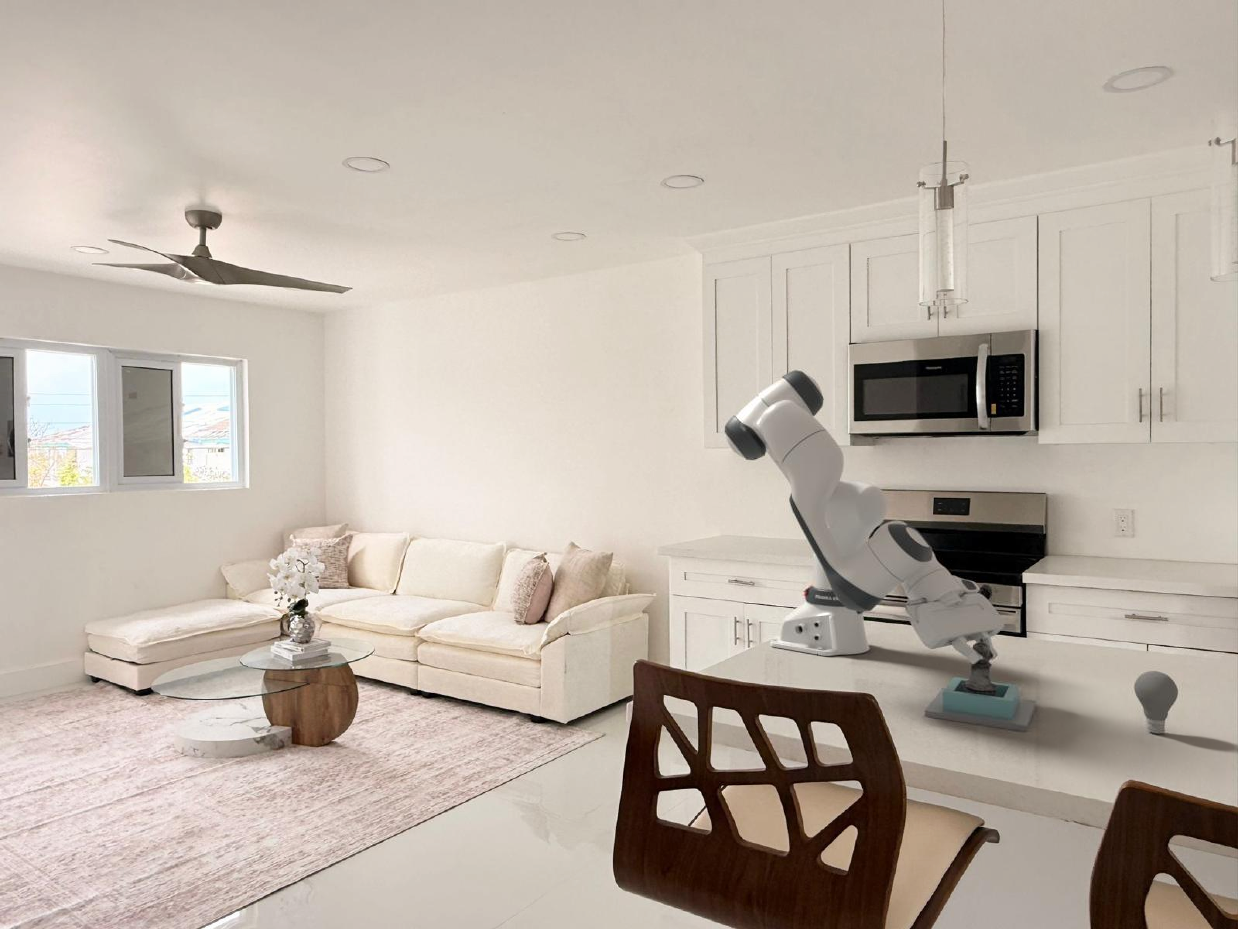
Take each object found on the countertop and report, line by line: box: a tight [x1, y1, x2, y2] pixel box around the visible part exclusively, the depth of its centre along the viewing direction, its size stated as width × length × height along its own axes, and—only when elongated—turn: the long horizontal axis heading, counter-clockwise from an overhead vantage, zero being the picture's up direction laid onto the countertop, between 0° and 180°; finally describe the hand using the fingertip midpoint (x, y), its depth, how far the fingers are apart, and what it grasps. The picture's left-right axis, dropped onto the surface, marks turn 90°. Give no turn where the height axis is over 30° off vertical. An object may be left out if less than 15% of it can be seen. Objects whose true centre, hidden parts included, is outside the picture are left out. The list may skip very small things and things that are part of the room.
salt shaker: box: [962, 638, 998, 696], centre depth 149 cm, size 6×6×12 cm
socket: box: [924, 676, 1037, 733], centre depth 150 cm, size 16×16×4 cm
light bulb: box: [1133, 670, 1179, 735], centre depth 138 cm, size 6×6×10 cm
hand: (985, 660), depth 149 cm, fingers closed on salt shaker, 3 cm apart
